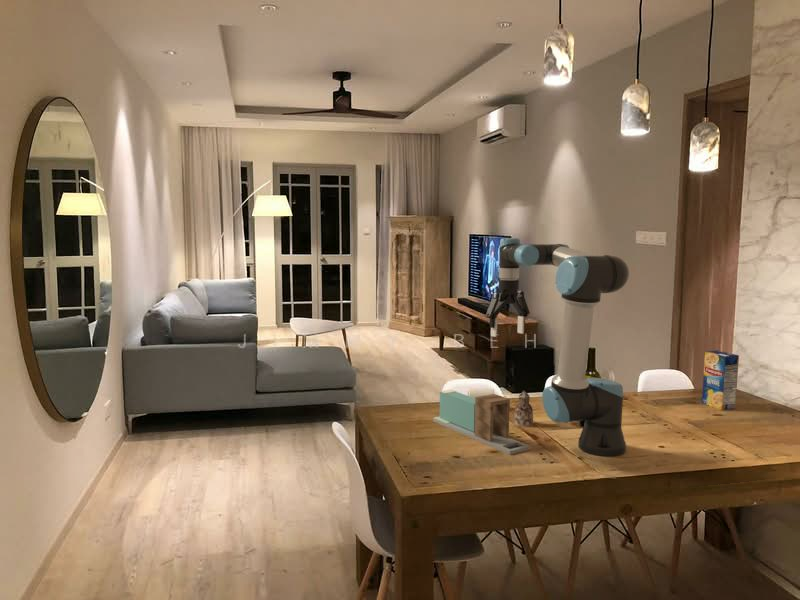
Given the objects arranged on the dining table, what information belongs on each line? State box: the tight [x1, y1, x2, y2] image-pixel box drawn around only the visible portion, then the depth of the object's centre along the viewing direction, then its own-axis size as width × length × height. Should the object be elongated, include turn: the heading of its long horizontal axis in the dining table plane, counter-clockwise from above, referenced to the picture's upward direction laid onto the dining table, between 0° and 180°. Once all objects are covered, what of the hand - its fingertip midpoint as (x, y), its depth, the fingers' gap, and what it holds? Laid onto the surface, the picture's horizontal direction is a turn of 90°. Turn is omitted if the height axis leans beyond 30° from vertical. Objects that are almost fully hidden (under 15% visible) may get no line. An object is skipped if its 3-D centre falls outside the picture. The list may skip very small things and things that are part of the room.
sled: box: [439, 389, 475, 432], centre depth 241 cm, size 20×5×10 cm, turn 33°
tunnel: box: [475, 393, 511, 442], centre depth 227 cm, size 8×8×14 cm
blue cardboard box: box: [701, 349, 740, 411], centre depth 271 cm, size 7×11×22 cm, turn 18°
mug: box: [467, 388, 495, 398], centre depth 269 cm, size 12×10×8 cm
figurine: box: [513, 390, 534, 428], centre depth 246 cm, size 7×7×12 cm
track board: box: [432, 415, 531, 456], centre depth 234 cm, size 42×9×1 cm, turn 33°
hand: (507, 334), depth 253 cm, fingers open, 13 cm apart
